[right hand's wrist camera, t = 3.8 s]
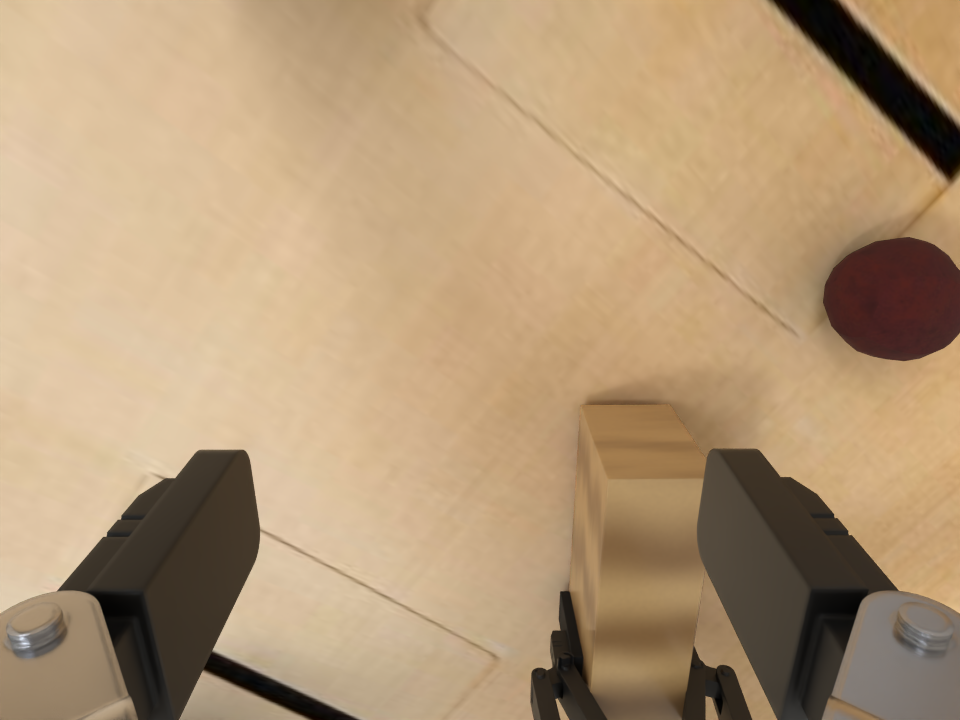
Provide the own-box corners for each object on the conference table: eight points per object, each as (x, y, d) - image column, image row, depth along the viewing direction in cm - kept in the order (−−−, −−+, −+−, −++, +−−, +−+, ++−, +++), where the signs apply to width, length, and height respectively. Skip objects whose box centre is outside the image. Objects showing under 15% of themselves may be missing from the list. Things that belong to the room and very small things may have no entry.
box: (580, 404, 46) (607, 479, 37) (670, 403, 46) (719, 478, 37) (566, 631, 53) (586, 741, 44) (643, 631, 53) (679, 739, 44)
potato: (897, 343, 45) (968, 385, 39) (788, 327, 45) (841, 367, 38) (941, 237, 42) (1025, 262, 36) (825, 219, 42) (888, 242, 35)
